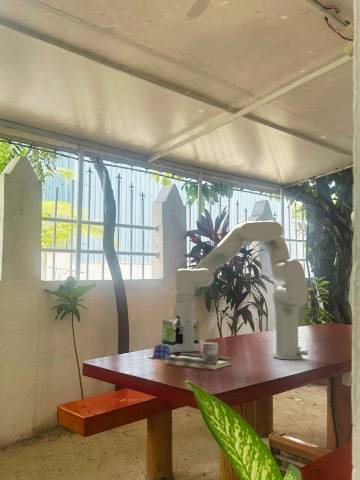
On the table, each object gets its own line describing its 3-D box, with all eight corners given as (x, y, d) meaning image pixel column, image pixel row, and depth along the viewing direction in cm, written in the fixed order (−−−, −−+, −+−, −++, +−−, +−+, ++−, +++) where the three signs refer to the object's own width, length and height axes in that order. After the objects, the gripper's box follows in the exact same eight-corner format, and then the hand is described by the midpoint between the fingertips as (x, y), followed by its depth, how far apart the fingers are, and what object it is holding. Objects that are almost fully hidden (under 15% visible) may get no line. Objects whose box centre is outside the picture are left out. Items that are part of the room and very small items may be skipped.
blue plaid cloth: (178, 356, 199) (178, 344, 199) (170, 360, 187) (170, 348, 188) (153, 355, 202) (153, 343, 203) (143, 359, 191) (144, 346, 191)
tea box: (172, 353, 206) (172, 321, 207) (161, 350, 214) (161, 319, 216) (199, 351, 214) (199, 319, 215) (187, 348, 222) (187, 318, 224)
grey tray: (230, 364, 176) (230, 342, 176) (214, 369, 165) (214, 346, 166) (182, 359, 188) (182, 339, 189) (164, 363, 178) (164, 341, 179)
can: (174, 349, 184) (174, 320, 185) (192, 349, 185) (192, 320, 186) (176, 352, 177) (176, 321, 178) (194, 351, 177) (194, 321, 179)
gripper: (188, 298, 192) (188, 340, 190) (164, 299, 178) (164, 344, 176) (203, 298, 188) (203, 341, 186) (180, 299, 174) (180, 345, 172)
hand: (184, 342), depth 181 cm, fingers closed on can, 7 cm apart
